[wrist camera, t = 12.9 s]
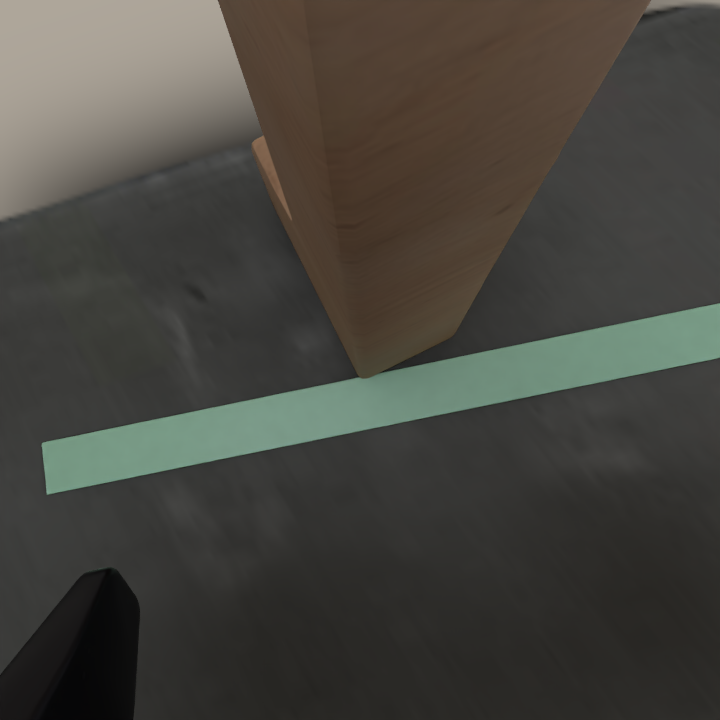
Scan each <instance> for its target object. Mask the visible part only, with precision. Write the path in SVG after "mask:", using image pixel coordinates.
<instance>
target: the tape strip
mask: <svg viewBox="0 0 720 720" xmlns="http://www.w3.org/2000/svg"><path fill="white" fill-rule="evenodd" d="M718 358H720V303H718V304H714V305H709V306H704V307H699V308H694V309H689V310H684V311H680V312H675V313H670V314H665V315H660V316H655V317H650V318H646V319H641V320H636V321H631V322H626V323H621V324H616V325H612V326H607V327H602V328H597V329H592V330H587V331H582V332H578V333H573V334H568V335H563V336H558V337H553V338H548V339H544V340H539V341H534V342H529V343H524V344H519V345H514V346H510V347H505V348H500V349H495V350H490V351H485V352H480V353H476V354H471V355H466V356H461V357H456V358H451V359H446V360H441V361H437V362H432V363H427V364H422V365H417V366H412V367H407V368H403V369H398V370H393V371H388V372H383V373H378V374H376V375H374V376H372V377H370V378H368V379H362V378H360V377H359V378H354V379H349V380H344V381H339V382H335V383H330V384H325V385H320V386H315V387H310V388H305V389H301V390H296V391H291V392H286V393H281V394H276V395H271V396H267V397H262V398H257V399H252V400H247V401H242V402H237V403H233V404H228V405H223V406H218V407H213V408H208V409H203V410H199V411H194V412H189V413H184V414H179V415H174V416H169V417H165V418H160V419H155V420H150V421H145V422H140V423H135V424H131V425H126V426H121V427H116V428H111V429H106V430H101V431H97V432H92V433H87V434H82V435H77V436H72V437H67V438H63V439H58V440H53V441H48V442H43V443H42V451H43V461H44V471H45V480H46V490H47V495H48V494H53V493H58V492H63V491H68V490H73V489H78V488H83V487H88V486H93V485H98V484H103V483H108V482H112V481H117V480H122V479H127V478H132V477H137V476H142V475H147V474H152V473H157V472H162V471H167V470H172V469H176V468H181V467H186V466H191V465H196V464H201V463H206V462H211V461H216V460H221V459H226V458H231V457H236V456H240V455H245V454H250V453H255V452H260V451H265V450H270V449H275V448H280V447H285V446H290V445H295V444H300V443H304V442H309V441H314V440H319V439H324V438H329V437H334V436H339V435H344V434H349V433H354V432H359V431H363V430H368V429H373V428H378V427H383V426H388V425H393V424H398V423H403V422H408V421H413V420H418V419H423V418H427V417H432V416H437V415H442V414H447V413H452V412H457V411H462V410H467V409H472V408H477V407H482V406H487V405H491V404H496V403H501V402H506V401H511V400H516V399H521V398H526V397H531V396H536V395H541V394H546V393H551V392H555V391H560V390H565V389H570V388H575V387H580V386H585V385H590V384H595V383H600V382H605V381H610V380H615V379H619V378H624V377H629V376H634V375H639V374H644V373H649V372H654V371H659V370H664V369H669V368H674V367H679V366H683V365H688V364H693V363H698V362H703V361H708V360H713V359H718Z"/></svg>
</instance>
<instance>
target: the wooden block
mask: <svg viewBox="0 0 720 720" xmlns="http://www.w3.org/2000/svg"><path fill="white" fill-rule="evenodd" d="M650 1H651V0H218V2H219V5H220V8H221V11H222V13H223V16H224V19H225V22H226V25H227V28H228V31H229V34H230V37H231V40H232V43H233V46H234V49H235V52H236V55H237V58H238V61H239V64H240V67H241V70H242V73H243V76H244V79H245V82H246V85H247V88H248V90H249V93H250V96H251V99H252V102H253V105H254V108H255V111H256V114H257V117H258V120H259V123H260V126H261V129H262V132H263V135H264V136H262V137H260V138H258V139H256V140H255V141H254V142H253V143H252V153H253V155H254V158H255V160H256V163H257V165H258V168H259V171H260V173H261V176H262V178H263V181H264V183H265V186H266V188H267V191H268V194H269V196H270V199H271V201H272V204H273V206H274V208H275V210H276V212H277V214H278V216H279V218H280V220H281V222H282V224H283V226H284V228H285V230H286V232H287V234H288V236H289V238H290V240H291V242H292V244H293V246H294V248H295V250H296V252H297V254H298V256H299V258H300V260H301V262H302V264H303V266H304V268H305V270H306V272H307V274H308V276H309V278H310V280H311V282H312V284H313V286H314V288H315V290H316V292H317V294H318V296H319V298H320V300H321V302H322V304H323V306H324V308H325V310H326V312H327V314H328V316H329V318H330V320H331V323H332V325H333V327H334V329H335V331H336V333H337V335H338V337H339V339H340V341H341V343H342V345H343V347H344V349H345V351H346V353H347V355H348V357H349V359H350V361H351V363H352V365H353V367H354V369H355V371H356V373H357V375H358V376H359V377H360V378H362V379H368V378H370V377H372V376H374V375H376V374H378V373H380V372H382V371H384V370H386V369H388V368H390V367H392V366H394V365H396V364H398V363H401V362H403V361H405V360H407V359H409V358H411V357H413V356H415V355H417V354H419V353H421V352H423V351H425V350H427V349H429V348H431V347H433V346H435V345H437V344H439V343H441V342H443V341H445V340H447V339H449V338H451V337H452V336H453V335H454V334H455V333H456V331H457V329H458V327H459V326H460V324H461V322H462V320H463V318H464V317H465V315H466V313H467V311H468V310H469V308H470V306H471V304H472V302H473V301H474V299H475V297H476V295H477V294H478V292H479V290H480V289H481V287H482V284H483V283H484V281H485V279H486V277H487V276H488V274H489V272H490V271H491V269H492V267H493V266H494V264H495V262H496V260H497V259H498V257H499V255H500V254H501V252H502V250H503V248H504V247H505V245H506V243H507V242H508V240H509V238H510V237H511V235H512V233H513V231H514V230H515V228H516V226H517V225H518V223H519V221H520V219H521V218H522V216H523V214H524V213H525V211H526V209H527V207H528V206H529V204H530V202H531V201H532V199H533V197H534V196H535V194H536V192H537V190H538V189H539V187H540V185H541V184H542V182H543V180H544V178H545V177H546V175H547V173H548V172H549V170H550V168H551V167H552V165H553V164H554V163H555V161H556V160H557V158H558V156H559V154H560V151H561V150H562V148H563V146H564V145H565V143H566V141H567V140H568V138H569V136H570V135H571V133H572V131H573V130H574V128H575V126H576V125H577V123H578V121H579V120H580V118H581V116H582V115H583V113H584V111H585V110H586V108H587V106H588V105H589V103H590V101H591V100H592V98H593V96H594V95H595V93H596V91H597V90H598V88H599V86H600V85H601V83H602V81H603V80H604V78H605V76H606V75H607V73H608V71H609V70H610V68H611V66H612V65H613V63H614V61H615V60H616V58H617V56H618V55H619V53H620V51H621V50H622V48H623V46H624V45H625V43H626V41H627V40H628V38H629V36H630V35H631V33H632V31H633V30H634V28H635V26H636V25H637V23H638V21H639V20H640V18H641V16H642V15H643V13H644V11H645V10H646V8H647V6H648V5H649V3H650Z"/></svg>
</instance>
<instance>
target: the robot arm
mask: <svg viewBox="0 0 720 720" xmlns="http://www.w3.org/2000/svg"><path fill="white" fill-rule="evenodd" d="M139 622H140V608H139V603H138V600H137V598H136V596H135V594H134V593H133V592H132V590H131V589H130V587H129V586H128V585H127V583H126V582H125V580H124V579H123V577H122V576H121V575H120V573H119V572H118V571H117V570H116V569H114V568H112V567H107V568H102V569H97V570H93V571H89V572H86V573H84V574H83V575H82V576H81V577H80V578H79V579H78V580H77V581H76V582H75V584H74V585H73V586H72V587H71V589H70V590H69V591H68V592H67V594H66V595H65V596H64V597H63V598H62V600H61V601H60V602H59V603H58V605H57V606H56V607H55V608H54V610H53V611H52V612H51V613H50V614H49V616H48V617H47V618H46V619H45V621H44V622H43V623H42V624H41V625H40V627H39V628H38V629H37V630H36V632H35V633H34V634H33V635H32V637H31V638H30V639H29V640H28V641H27V643H26V644H25V645H24V646H23V648H22V649H21V650H20V651H19V652H18V654H17V655H16V656H15V657H14V659H13V660H12V661H11V662H10V664H9V665H8V666H7V667H6V668H5V670H4V671H3V672H2V673H1V675H0V720H133V717H134V705H135V689H136V672H137V655H138V638H139Z"/></svg>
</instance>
